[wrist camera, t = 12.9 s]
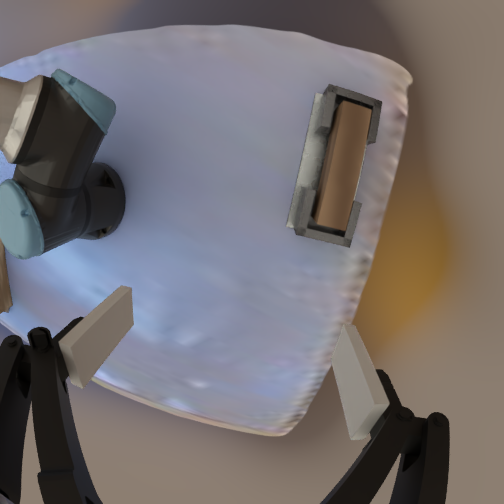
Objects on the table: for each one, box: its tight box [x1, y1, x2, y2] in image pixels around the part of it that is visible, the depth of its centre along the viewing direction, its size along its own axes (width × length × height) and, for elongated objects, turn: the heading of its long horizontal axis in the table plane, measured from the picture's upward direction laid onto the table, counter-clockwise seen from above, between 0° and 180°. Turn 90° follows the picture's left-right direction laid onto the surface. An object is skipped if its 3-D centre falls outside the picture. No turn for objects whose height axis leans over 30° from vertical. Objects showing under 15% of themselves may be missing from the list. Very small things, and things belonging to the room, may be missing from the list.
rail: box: [311, 101, 372, 231], centre depth 35 cm, size 4×17×6 cm, turn 168°
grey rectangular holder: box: [286, 84, 382, 248], centre depth 38 cm, size 10×23×8 cm, turn 168°
